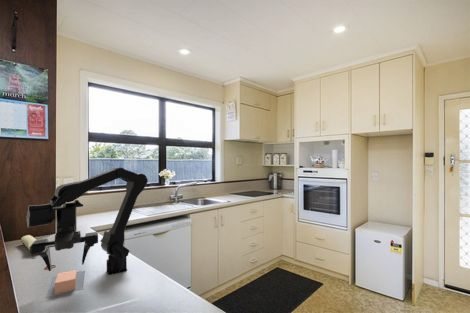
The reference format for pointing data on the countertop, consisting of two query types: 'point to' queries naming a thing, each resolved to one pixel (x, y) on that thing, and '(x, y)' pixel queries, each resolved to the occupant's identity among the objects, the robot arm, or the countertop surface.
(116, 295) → the countertop surface
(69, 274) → the card box
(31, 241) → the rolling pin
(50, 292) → the mat
